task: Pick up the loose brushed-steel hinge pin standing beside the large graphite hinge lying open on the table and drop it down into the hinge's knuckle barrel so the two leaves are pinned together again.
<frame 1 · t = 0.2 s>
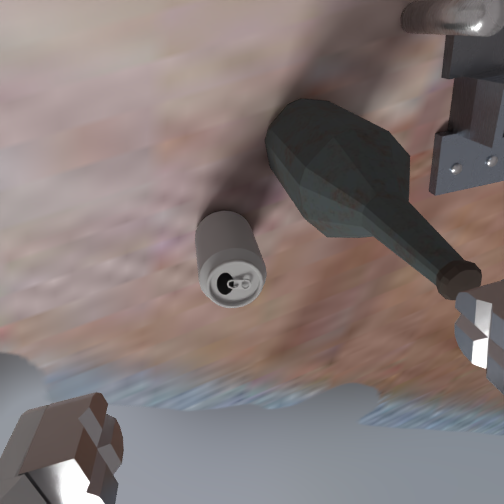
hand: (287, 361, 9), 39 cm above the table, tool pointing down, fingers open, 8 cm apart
bottle: (304, 141, 46), on the table
pin: (413, 17, 41), on the table
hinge: (476, 99, 47), on the table
can: (222, 232, 51), on the table
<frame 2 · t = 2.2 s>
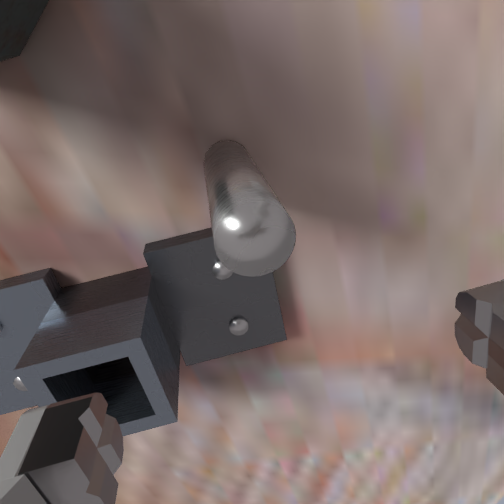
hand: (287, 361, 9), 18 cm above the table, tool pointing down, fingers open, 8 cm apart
pin: (227, 164, 24), on the table
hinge: (124, 314, 28), on the table
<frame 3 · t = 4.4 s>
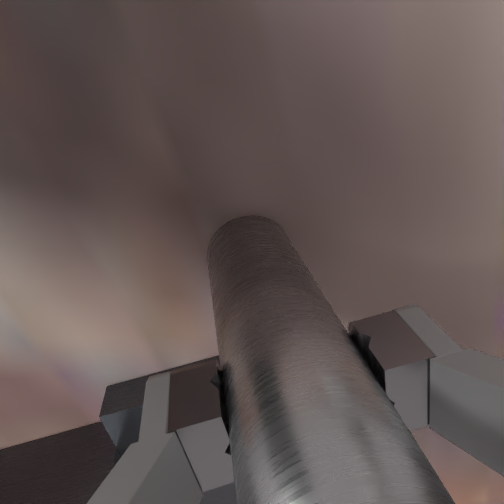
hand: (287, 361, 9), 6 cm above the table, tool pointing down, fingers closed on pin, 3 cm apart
pin: (249, 255, 14), on the table, touching gripper
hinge: (76, 485, 17), on the table
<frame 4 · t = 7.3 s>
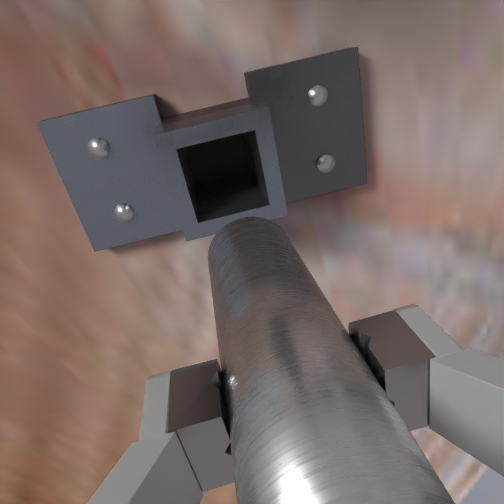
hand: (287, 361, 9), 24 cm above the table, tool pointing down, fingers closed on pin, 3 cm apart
pin: (250, 256, 14), point 18 cm above the table, touching gripper
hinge: (216, 151, 30), on the table
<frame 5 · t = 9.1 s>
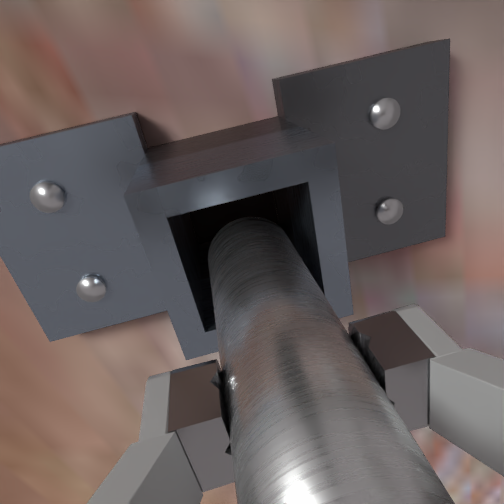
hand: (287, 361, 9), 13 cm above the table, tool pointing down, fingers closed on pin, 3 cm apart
pin: (250, 256, 14), point 7 cm above the table, touching gripper
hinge: (229, 195, 20), on the table
when the fingers open (10 cm above the table, at t = 10.3 s): pin drops 4 cm, resting in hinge.
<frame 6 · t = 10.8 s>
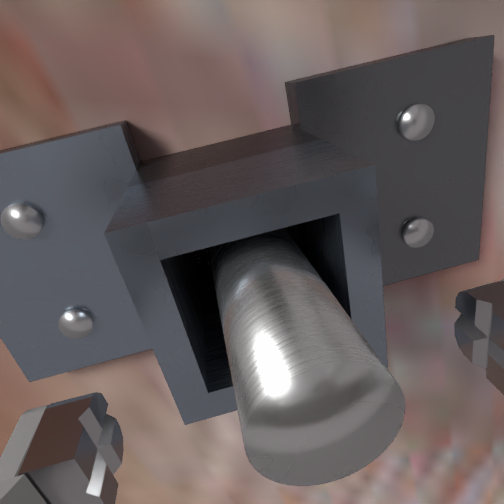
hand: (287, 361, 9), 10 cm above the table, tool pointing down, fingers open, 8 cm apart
pin: (234, 214, 18), resting in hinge
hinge: (234, 214, 18), on the table
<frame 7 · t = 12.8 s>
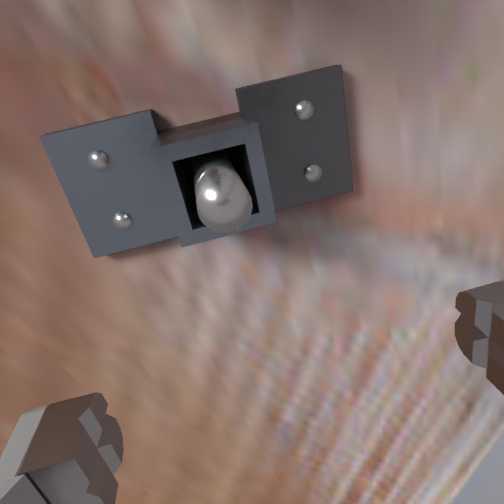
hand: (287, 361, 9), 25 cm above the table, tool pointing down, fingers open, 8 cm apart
pin: (210, 162, 31), resting in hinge
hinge: (210, 162, 31), on the table
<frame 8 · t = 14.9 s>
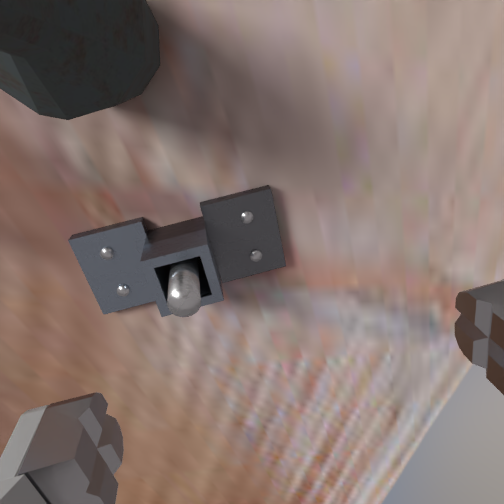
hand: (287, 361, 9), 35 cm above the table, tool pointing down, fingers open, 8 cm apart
bottle: (105, 43, 35), on the table
pin: (184, 248, 45), resting in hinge
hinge: (184, 248, 45), on the table
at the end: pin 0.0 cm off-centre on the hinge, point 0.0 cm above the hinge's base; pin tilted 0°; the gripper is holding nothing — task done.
